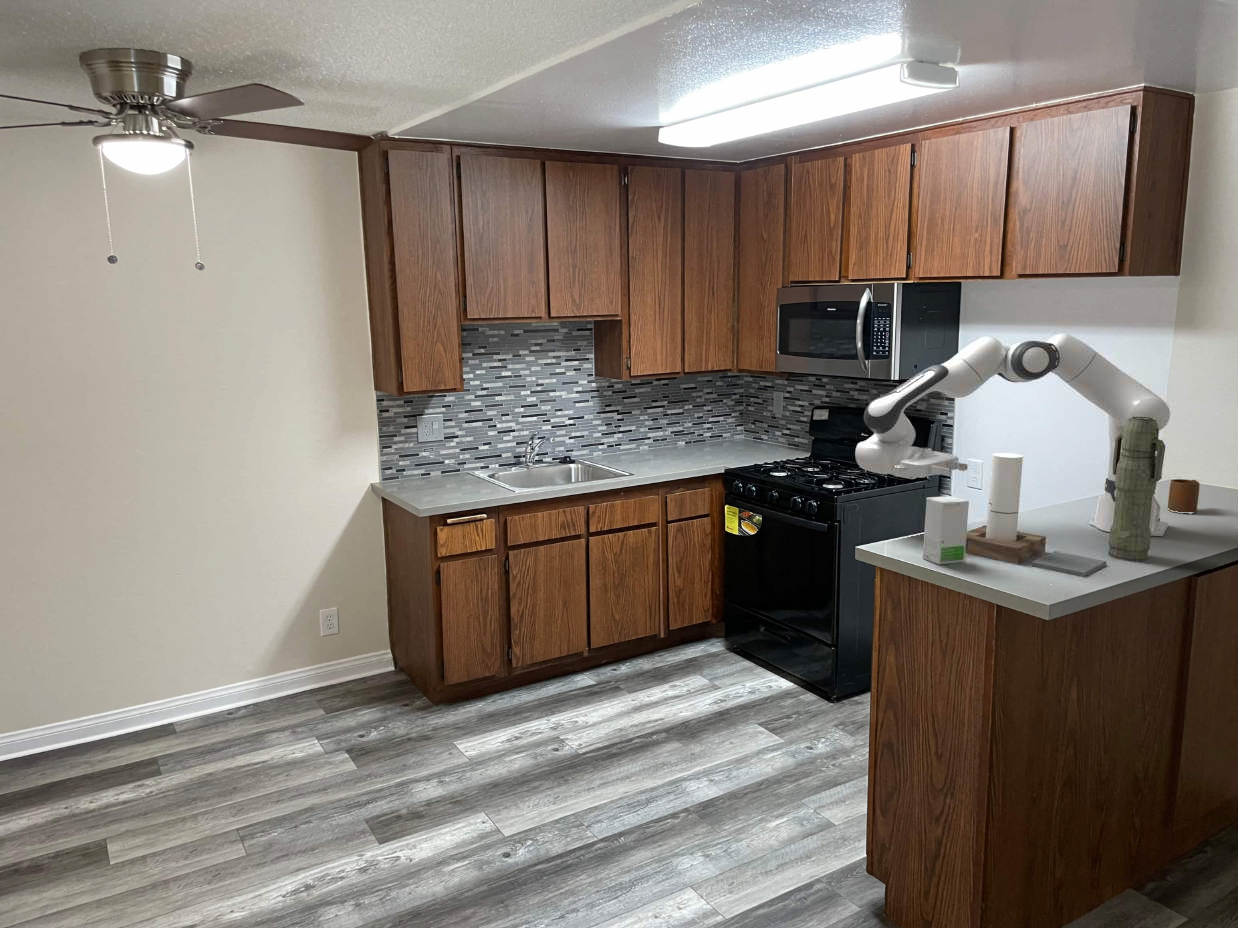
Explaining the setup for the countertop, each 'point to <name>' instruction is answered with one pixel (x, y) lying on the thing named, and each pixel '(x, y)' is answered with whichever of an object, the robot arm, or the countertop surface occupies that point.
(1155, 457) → the thermos
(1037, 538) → the pocket block
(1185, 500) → the mug
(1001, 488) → the cylindrical container
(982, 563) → the countertop surface
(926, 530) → the skincare box
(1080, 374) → the robot arm
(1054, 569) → the rubber mat
